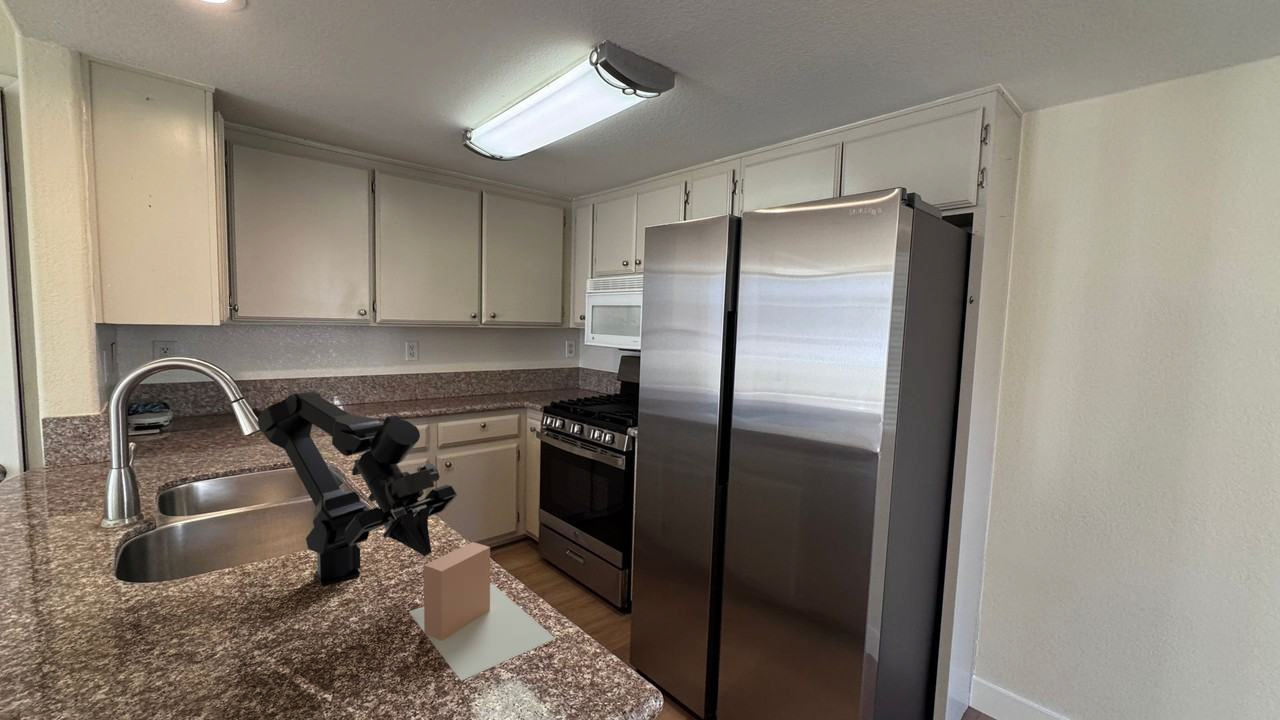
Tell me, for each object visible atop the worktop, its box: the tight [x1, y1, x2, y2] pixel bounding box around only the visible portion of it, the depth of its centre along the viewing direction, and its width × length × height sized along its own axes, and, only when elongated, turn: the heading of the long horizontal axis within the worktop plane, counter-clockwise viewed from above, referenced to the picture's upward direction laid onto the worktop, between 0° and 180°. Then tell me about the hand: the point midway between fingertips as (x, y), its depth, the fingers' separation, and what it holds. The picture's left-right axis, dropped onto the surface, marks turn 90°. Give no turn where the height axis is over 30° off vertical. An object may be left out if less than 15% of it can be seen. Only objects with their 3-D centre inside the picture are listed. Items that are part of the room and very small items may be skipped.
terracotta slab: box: [423, 541, 491, 641], centre depth 84 cm, size 4×10×11 cm, turn 151°
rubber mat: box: [408, 583, 556, 682], centre depth 84 cm, size 15×22×1 cm
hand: (428, 554), depth 87 cm, fingers closed
